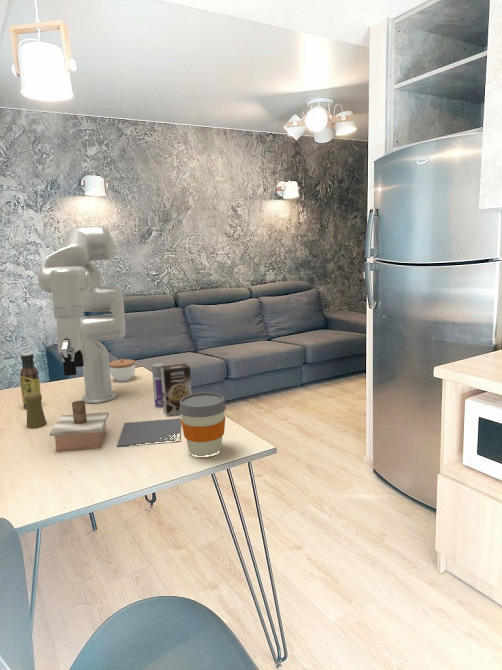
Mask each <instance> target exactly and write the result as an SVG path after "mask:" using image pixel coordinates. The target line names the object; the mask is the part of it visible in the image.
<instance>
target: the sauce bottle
mask: <svg viewBox="0 0 502 670" xmlns="http://www.w3.org/2000/svg"><path fill="white" fill-rule="evenodd" d="M20 359H21V366H22V368H21V369H20V372H19V381H20V389H21V399H22V403H23V407H24V408H25V409H27V403H26V402H25V400H24V397H25V395H26V394H28V393H31V392H39V393H40V394H41V385H40V384H41V383H40V377H39V371H38V369H37V367H36V366H35V364H34V353H33V352H25V353H22V354H20ZM41 395H42V394H41ZM41 405H42V402H41Z"/></svg>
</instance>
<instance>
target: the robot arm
mask: <svg viewBox="0 0 502 670" xmlns="http://www.w3.org/2000/svg"><path fill="white" fill-rule="evenodd" d="M115 255H116V244H115V242H114V239H113V237H112V234H111V233H110V231H109V230H108V229H107V228H106V227H104V226H99V225H98V226H95V225H94V226H75V227H72V228H69V230H68V231H67V232H66V233H65V236H64V240H63V244H62V248H59V249H57V250H56V251H54V252H52V253H51V254H49V255H47V256H46V257H45V258H44V259H43V260H42V262H41V265H40V268H39V271H38V275H37V276H38V277H37V282H38V286H39V289H40V290H41V291H43V292H44V293H47V294H51V300H52V308H53V316H54V317H53V318H54V319H55V320H56V339H57V341H56V342H57V352H58V354H60V355H61V356H62V366H63V373H64V376H65V377H66V376H67V377H68V376H76V375H77V374H78V373H77V368H82V372H83V380H84V381H83V382H84V389H85V390H84V391H85V394H83V395H82V396H81V401H85V404H86V403H87V404H101V403H105V402H110V401H112V400H114V399H116V398H117V392H116V391H114V390H112V388H113V387H112V380H111V377H112V376H111V373H110V367H109V363H110V359H109V352H108V349H107V348H106V347H105V345H104V344H102V342H103V341H117V340H119V341H120V340H122V339H124V338H125V336H126V316H125V306H124V295H123V292H122V289H121V288H120V286H118V285H103V284H102V278H101V277H102V275H101V271H100V270H99V269H98V267H97V266H96V265H95V264H94V263H93V262H94V261H95V262H96V261H111V260H113V259H114V257H115ZM83 312H86V313H96V312H97V313H98V312H110V313H111V314H97V315H86V316H83Z"/></svg>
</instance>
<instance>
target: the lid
mask: <svg viewBox="0 0 502 670" xmlns="http://www.w3.org/2000/svg"><path fill="white" fill-rule="evenodd" d="M71 407H72V414H67V415H66V414H65V415H61V416H60V418H59V419H58V420H57V422H56V423H55V424H54V426H53V427H52V429H51V430H50V431H49V437H55V436H59V435H71V434H83V433H95V432H101V431H102V429H103V426H104V424H105V423H106V422H107V419H108V417H109V415H110V414H109V411H103V412H91V413H90V412H89V413H87V410H86V402H85V401H82V400H75V401H73V402H71Z"/></svg>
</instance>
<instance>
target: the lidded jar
mask: <svg viewBox="0 0 502 670" xmlns="http://www.w3.org/2000/svg"><path fill="white" fill-rule="evenodd" d="M109 367H110V376H111V377H112V378H113V379H114V380H116V382H119V383H120V382H121V383H124V382H129V381H131V380H132V378H133V376H134V375H135V372H136V360H134V359H129V358H127V359H126V358H125V359H124V358H120V359H116V360H112V361H111V362H110V361H109Z"/></svg>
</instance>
